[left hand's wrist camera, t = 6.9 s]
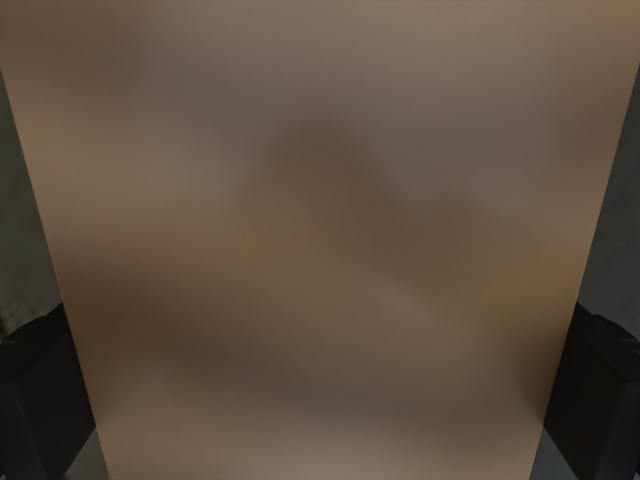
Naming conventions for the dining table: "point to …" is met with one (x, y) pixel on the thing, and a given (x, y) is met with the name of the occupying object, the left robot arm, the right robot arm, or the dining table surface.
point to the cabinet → (319, 222)
